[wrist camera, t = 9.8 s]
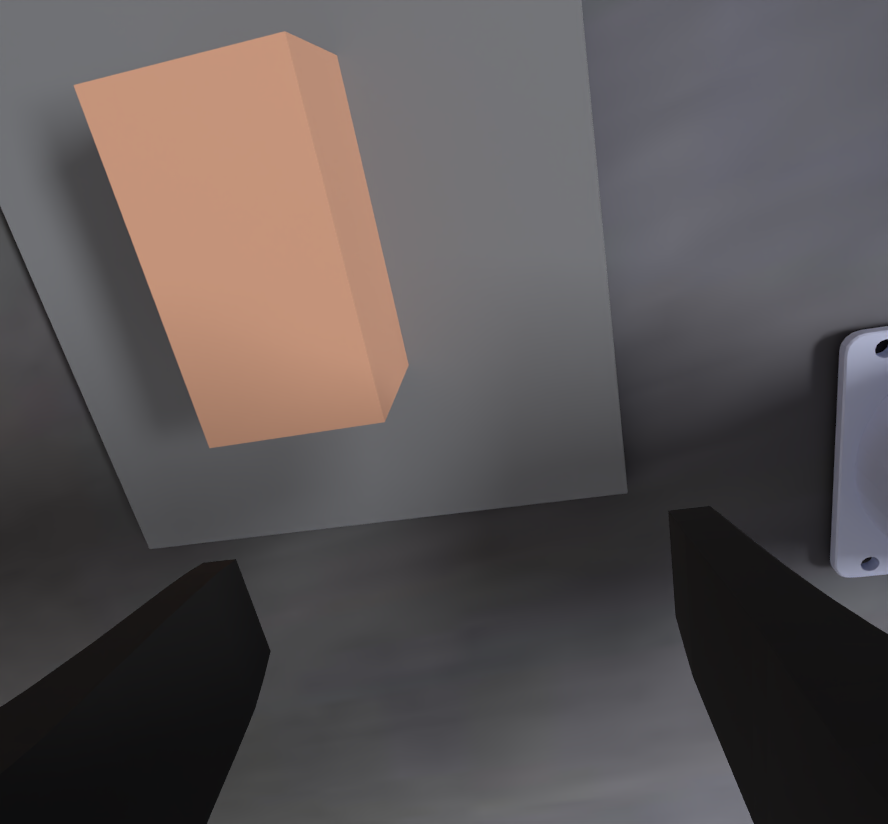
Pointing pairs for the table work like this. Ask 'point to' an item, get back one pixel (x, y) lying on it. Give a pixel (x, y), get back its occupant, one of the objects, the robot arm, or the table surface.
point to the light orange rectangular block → (255, 235)
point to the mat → (403, 245)
